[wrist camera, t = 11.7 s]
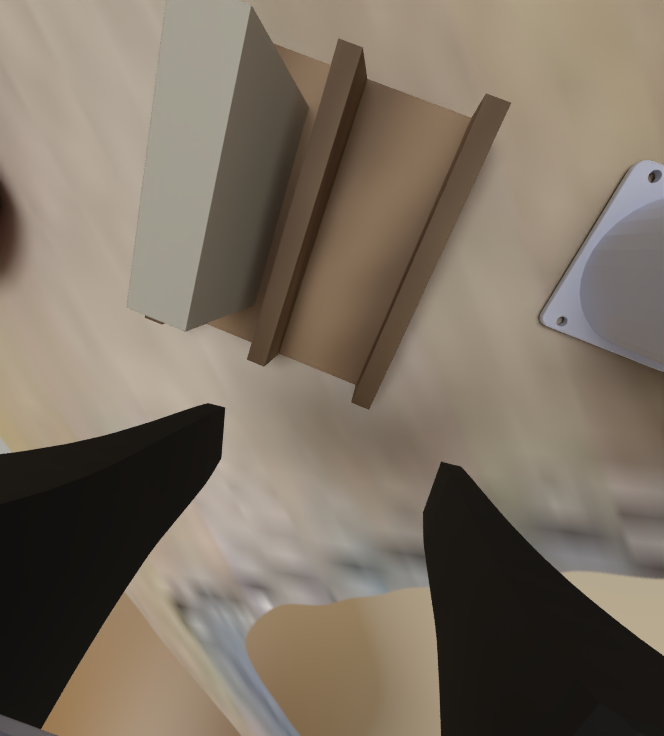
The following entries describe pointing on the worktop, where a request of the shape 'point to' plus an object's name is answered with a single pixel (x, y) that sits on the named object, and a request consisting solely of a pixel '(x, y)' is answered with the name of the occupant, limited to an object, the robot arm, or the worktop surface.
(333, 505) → the worktop surface
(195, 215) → the clay block
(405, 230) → the rack
